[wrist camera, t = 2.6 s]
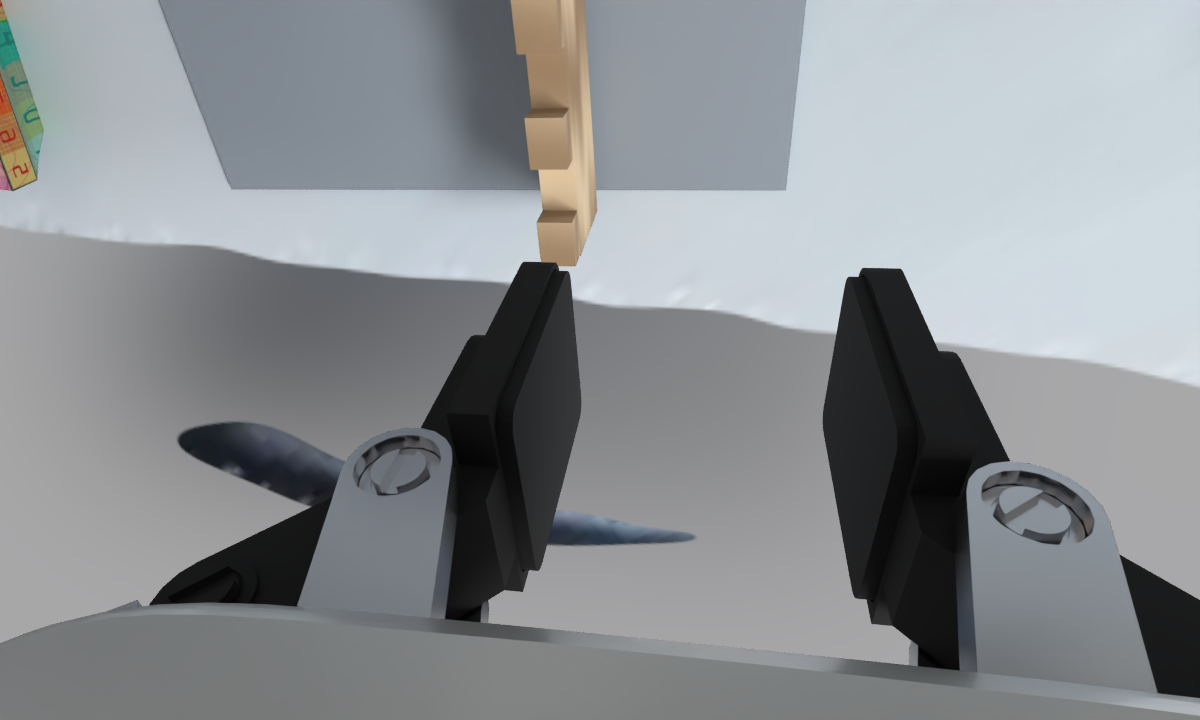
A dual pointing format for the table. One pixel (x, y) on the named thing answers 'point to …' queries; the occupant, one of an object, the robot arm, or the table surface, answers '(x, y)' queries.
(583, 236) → the hinged fence panel
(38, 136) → the puzzle game
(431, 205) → the table surface
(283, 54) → the card
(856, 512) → the robot arm
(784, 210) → the table surface
